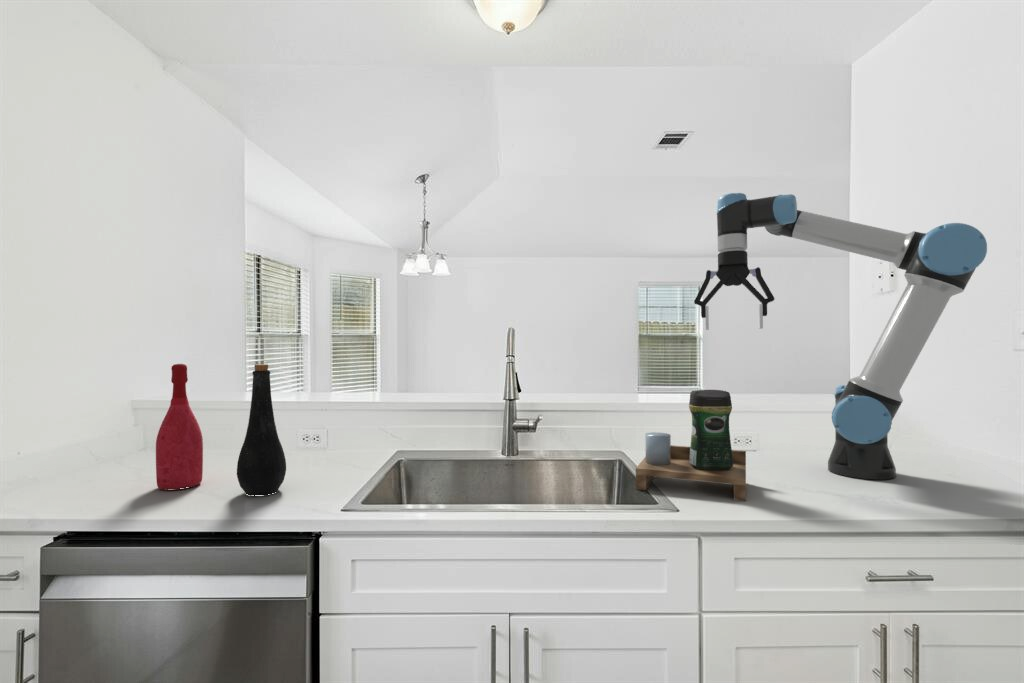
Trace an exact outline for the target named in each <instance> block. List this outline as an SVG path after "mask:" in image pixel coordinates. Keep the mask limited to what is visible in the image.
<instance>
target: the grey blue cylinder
mask: <svg viewBox="0 0 1024 683" xmlns="http://www.w3.org/2000/svg"><path fill="white" fill-rule="evenodd" d="M671 440H672V439H671V434H670V433H667V432H656V431H655V432H646V433H645V457H646V463H647V464H651V465H669V464H671V442H672V441H671Z"/></svg>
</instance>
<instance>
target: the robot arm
mask: <svg viewBox="0 0 1024 683" xmlns="http://www.w3.org/2000/svg"><path fill="white" fill-rule="evenodd" d="M797 202H798V201H797V197H796V196H795V195H794V194H792V193H791V194H778V195H773V196H768V197H761V198H755V199H748V198H747V195H746V194H745V193H742V192H734V193H727V194H724V195H721V196H720V197H718V199H717V207H716V208H717V209H716V211H717V212H716V222H717V223H716V224H717V252H719V253H718V254H717V270H716V271H715V270H710V269H707V270H706V273H705V279H704V281H703V282H702V285H701V287H700V289H699V290H698V293H697V295H696V296H695V299H694V300H693V301H694V302H693V303H694V304H695V305H697V306H700V316H701V318H703V319H704V318H705V330H706V331H708V330H709V329H710V326H709V325H710V324H709V323H710V321H709V320H710V318H709V305H707V304H708V303H709V302H710V300H711V299H712V298H713V297H714V296H716V293H717V292H719V290H720V289H721V288H722V287H723V286H726V287H731V286H736V287H737V286H741V285H742V286H744V288H746V289H747V290H748V291H749V292H750V293H751V294H752V295H753V296H754V297H755V298H756V299H757V300H758V301H759V302H760V304H758V329H762V330H763V329H764V317H767V316H768V304H769V303H771V302H774V301H775V297H774V295H773V293H772V291H771V290H770V288H769V285H767V283H766V281H765V279H764V278H763V276H762V270H761V268H760V267H756V268H751V269H750V268H749V265H748V251H746V250H748V229H756V228H764V229H765V230H766V231H767V233H769V234H771V235H774V236H777V237H778V236H779V237H781V236H784V237H788V238H792V239H793V238H794V239H795V240H796V239H797V240H801V241H805V242H809V243H813V244H816V245H820V246H824V247H825V246H826V247H829V248H833V249H836V250H841V251H844V252H849V253H853V254H857V255H861V256H864V257H869V258H873V259H877V260H880V261H881V260H882V261H884V262H889V263H893V264H894V266H895V268H896V269H900V270H903V271H905V272H904V275H903V276H904V277H905V280H906V281H907V285H906V287H905V289H904V290H903V292H902V294H901V296H900V298H899V300H898V302H897V304H896V306H895V307H894V309H893V311H892V313H891V316H890V317H889V319H888V320H887V323H886V325H885V327H884V329H883V330H882V332H881V334H880V337H878V340H877V342H876V343H875V346H874V347H873V349H872V351H871V353H870V355H869V358H868V359H867V361H866V363H865V365H864V366H863V369H862V371H861V373H860V374H859V375H858V376H856V377H853V378H849V380H848V381H847V384H846V385H842V384H841V385H837V387H836V388H835V393H834V399H835V402H834V403H835V405H834V407H833V408H832V411H831V422H832V425H833V426H834V429H835V437H834V438H835V441H834V444H833V447H832V450H831V453H830V456H829V457H828V460H827V470H828V472H831V473H834V474H837V475H840V476H845V477H850V478H855V479H865V480H875V481H876V480H881V481H882V480H884V481H885V480H891V479H895V478H896V477H897V476H896V475H897V470H896V469H897V468H896V465H895V463H894V460H893V457H892V455H891V451H890V449H889V446H888V434H889V433H890V432H891V431H890V430H891V429H892V425H893V420H894V417H895V416H896V414H897V412H898V410H899V409H900V407H901V404H902V403H903V402H904V399H903V397H902V395H901V390H902V387H903V386H904V384H905V382H906V380H907V378H908V376H909V374H910V373H911V370H912V369H913V367H914V365H915V363H916V362H917V360H918V358H919V356H920V354H921V352H922V351H923V349H924V347H925V345H926V343H927V342H928V340H929V338H930V336H931V334H932V332H933V330H934V328H935V326H936V325H937V323H938V321H939V319H940V317H941V315H942V314H943V312H944V310H945V309H946V307H947V305H948V303H949V301H950V299H951V297H953V296H956V295H958V294H961V293H963V292H964V291H965V289H966V288H967V285H968V283H969V282H970V280H971V277H972V276H973V275H974V273H975V270H976V269H977V268H978V267H979V266H980V265H981V264H982V263H983V262H984V261H985V258H986V256H987V253H988V244H987V240H986V237H985V235H984V234H983V233H982V232H981V231H980V230H979V229H978V228H976V227H974V226H973V225H970V224H967V223H962V222H951V223H945V224H941V225H938V226H936V227H934V228H932V229H931V230H929V231H928V232H927V233H926V232H925V233H924V232H919V231H911V232H909V233H903V232H898V231H894V230H889V229H887V228H881V227H876V226H872V225H867V224H863V223H860V222H859V223H858V222H853V221H850V220H849V221H848V220H845V219H841V218H835V217H832V216H827V215H822V214H817V213H813V212H808V211H804V210H799V209H798V204H797ZM750 274H751V275H752V277H755V278H756V280H757V283H758V284H759V286H760V287H761V290H762V291H763V293H764V295H765V297H766V298H765V297H764V296H763V295H762V294H761V292H759V291H758V290H757V288H756V287H754V286H753V285H752V283H751V282H750V281H749V280H748V277H749V275H750ZM715 276H716V277H717V278H718V279H719V281H718V282H717V283H716V285H715V286H714V287H713V288H712V289H711V291H710V292H709V293H708V294H707V295H706V297H705V298H704V299H703V300H701V299H702V298H703V295H704V293H706V292H705V291H706V289H707V288H708V286H709V283H710V281H711V280H712V279H714V277H715Z"/></svg>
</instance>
